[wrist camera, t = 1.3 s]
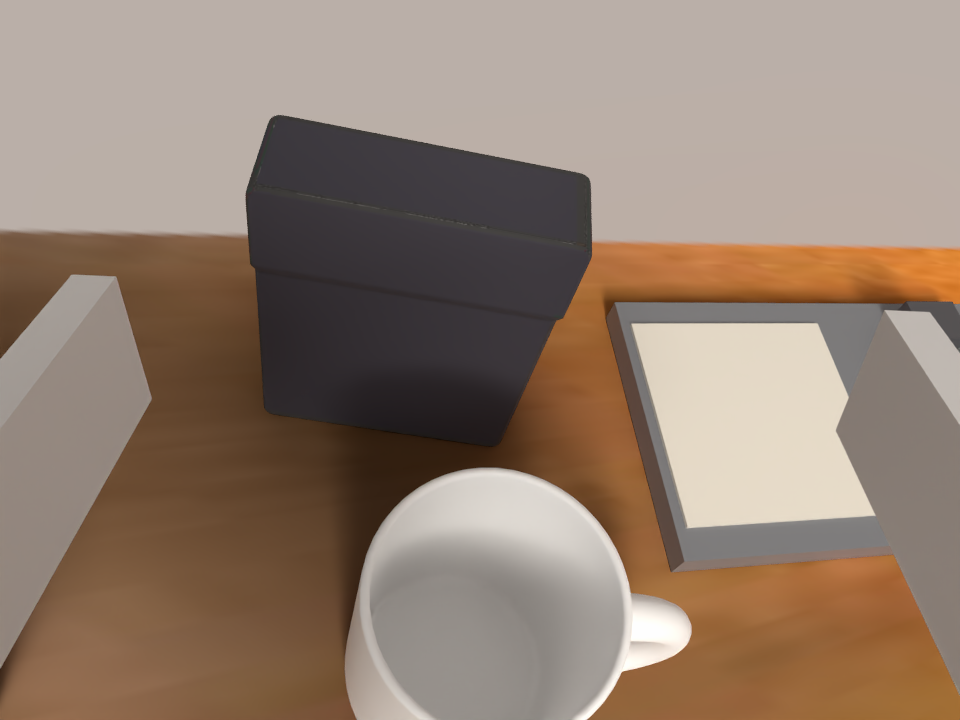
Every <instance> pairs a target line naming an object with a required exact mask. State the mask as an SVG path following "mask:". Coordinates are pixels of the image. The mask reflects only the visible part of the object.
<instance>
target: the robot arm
mask: <svg viewBox="0 0 960 720" xmlns="http://www.w3.org/2000/svg"><path fill="white" fill-rule="evenodd" d="M151 400H152V397H151V394H150V390H149V387H148V384H147V380H146V377H145V373H144V370H143V367H142V363H141V360H140V356H139V353H138V349H137V346H136V343H135V339H134V336H133V332H132V329H131V326H130V322H129V319H128V315H127V312H126V308H125V305H124V302H123V298H122V295H121V291H120V288H119V285H118V281H117V278H116V276H93V275H71V276H70V277H69V279H68V280H67V281H66V282H65V283H64V284H63V286H62V287H61V288H60V289H59V290H58V292H57V293H56V294H55V295H54V296H53V297H52V299H51V300H50V301H49V302H48V303H47V304H46V306H45V307H44V308H43V309H42V310H41V312H40V313H39V314H38V315H37V316H36V317H35V319H34V320H33V321H32V322H31V323H30V325H29V326H28V327H27V328H26V329H25V330H24V332H23V333H22V334H21V335H20V336H19V338H18V339H17V340H16V341H15V342H14V343H13V345H12V346H11V347H10V348H9V349H8V350H7V352H6V353H5V354H4V355H3V356H2V358H1V359H0V668H1V667H2V665H3V663H4V661H5V660H6V658H7V656H8V654H9V652H10V651H11V649H12V647H13V645H14V644H15V642H16V640H17V638H18V636H19V635H20V633H21V631H22V629H23V627H24V626H25V624H26V622H27V620H28V619H29V617H30V615H31V613H32V611H33V610H34V608H35V606H36V604H37V603H38V601H39V599H40V597H41V595H42V594H43V592H44V590H45V588H46V587H47V585H48V583H49V581H50V579H51V578H52V576H53V574H54V572H55V571H56V569H57V567H58V565H59V563H60V562H61V560H62V558H63V556H64V555H65V553H66V551H67V549H68V547H69V546H70V544H71V542H72V540H73V539H74V537H75V535H76V533H77V531H78V530H79V528H80V526H81V524H82V523H83V521H84V519H85V517H86V515H87V514H88V512H89V510H90V508H91V507H92V505H93V503H94V501H95V499H96V498H97V496H98V494H99V492H100V491H101V489H102V487H103V485H104V483H105V482H106V480H107V478H108V476H109V475H110V473H111V471H112V469H113V467H114V466H115V464H116V462H117V460H118V459H119V457H120V455H121V453H122V451H123V450H124V448H125V446H126V444H127V442H128V441H129V439H130V437H131V435H132V434H133V432H134V430H135V428H136V426H137V425H138V423H139V421H140V419H141V418H142V416H143V414H144V412H145V410H146V409H147V407H148V405H149V403H150V402H151ZM836 432H837V434H838V436H839V438H840V441H841V443H842V445H843V447H844V449H845V451H846V453H847V456H848V458H849V460H850V462H851V464H852V466H853V468H854V471H855V473H856V475H857V477H858V479H859V481H860V483H861V485H862V488H863V490H864V492H865V494H866V496H867V498H868V500H869V503H870V505H871V507H872V509H873V511H874V513H875V515H876V518H877V520H878V522H879V524H880V526H881V528H882V530H883V532H884V535H885V537H886V539H887V541H888V543H889V545H890V547H891V550H892V552H893V554H894V556H895V558H896V560H897V562H898V564H899V567H900V569H901V571H902V573H903V575H904V577H905V579H906V582H907V584H908V586H909V588H910V590H911V592H912V594H913V597H914V599H915V601H916V603H917V605H918V607H919V609H920V611H921V614H922V616H923V618H924V620H925V622H926V624H927V626H928V629H929V631H930V633H931V635H932V637H933V639H934V641H935V644H936V646H937V648H938V650H939V652H940V654H941V656H942V658H943V661H944V663H945V665H946V667H947V669H948V671H949V673H950V676H951V678H952V680H953V682H954V684H955V686H956V688H957V690H958V693H959V695H960V353H959V351H958V350H957V349H956V347H955V346H954V344H953V343H952V342H951V340H950V339H949V338H948V336H947V335H946V334H945V332H944V331H943V329H942V328H941V327H940V325H939V324H938V323H937V321H936V320H935V319H934V317H933V316H932V314H931V313H930V312H916V311H894V310H884V312H883V315H882V317H881V320H880V322H879V325H878V327H877V329H876V332H875V334H874V337H873V339H872V342H871V344H870V347H869V349H868V352H867V354H866V357H865V359H864V361H863V364H862V366H861V369H860V371H859V374H858V376H857V379H856V381H855V384H854V386H853V388H852V391H851V393H850V396H849V398H848V401H847V403H846V406H845V408H844V411H843V413H842V416H841V418H840V420H839V423H838V425H837V428H836Z"/></svg>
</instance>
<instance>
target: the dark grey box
mask: <svg viewBox="0 0 960 720" xmlns="http://www.w3.org/2000/svg"><path fill="white" fill-rule="evenodd" d="M246 212H247V226H248V239H249V253H250V264H251V265H252V266H253V267H254V268H255V271H256V287H257V302H258V318H259V334H260V350H261V365H262V381H263V397H264V408H265V410H266V411H267V412H269V413H271V414H276V415H282V416H288V417H295V418H302V419H309V420H315V421H322V422H329V423H335V424H342V425H349V426H355V427H362V428H369V429H376V430H382V431H389V432H396V433H402V434H409V435H416V436H422V437H429V438H436V439H443V440H449V441H456V442H463V443H469V444H476V445H483V446H496V445H498V444H499V443H500V442H501V439H502V437H503V435H504V433H505V431H506V429H507V426H508V424H509V422H510V420H511V418H512V416H513V413H514V411H515V409H516V407H517V405H518V403H519V400H520V398H521V396H522V394H523V392H524V389H525V387H526V385H527V383H528V381H529V379H530V376H531V374H532V372H533V370H534V368H535V365H536V363H537V361H538V359H539V357H540V355H541V352H542V350H543V348H544V346H545V344H546V341H547V339H548V337H549V335H550V333H551V331H552V328H553V326H554V324H555V322H556V320H559V319H562V318H563V317H564V315H565V313H566V311H567V309H568V307H569V305H570V303H571V300H572V298H573V296H574V294H575V292H576V290H577V288H578V286H579V283H580V281H581V279H582V277H583V275H584V273H585V271H586V269H587V266H588V264H589V262H590V260H591V257H592V224H591V185H590V180H589V178H588V177H586V176H585V175H583V174H580V173H576V172H571V171H566V170H561V169H556V168H551V167H546V166H540V165H536V164H530V163H525V162H520V161H515V160H510V159H505V158H499V157H495V156H489V155H484V154H479V153H473V152H469V151H464V150H459V149H453V148H448V147H443V146H437V145H432V144H428V143H423V142H417V141H412V140H407V139H402V138H397V137H392V136H386V135H381V134H377V133H371V132H366V131H361V130H356V129H351V128H346V127H341V126H335V125H330V124H325V123H320V122H315V121H309V120H304V119H300V118H294V117H289V116H282V115H277V116H274V117H273V118H271V119H270V121H269V123H268V126H267V129H266V132H265V135H264V138H263V141H262V144H261V147H260V150H259V153H258V156H257V159H256V162H255V165H254V168H253V172H252V174H251V177H250V181H249V184H248V187H247V191H246Z"/></svg>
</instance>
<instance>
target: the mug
mask: <svg viewBox="0 0 960 720" xmlns="http://www.w3.org/2000/svg"><path fill="white" fill-rule="evenodd" d="M690 636H691V623H690V621H689V619H688V616H687V614H686V613H685V612H684V611H683V610H682V609H681V608H680V607H679V606H677V605H676V604H673V603H671V602H669V601H667V600H664V599H661V598H657V597H654V596H648V595H642V594H634V593H630V588H629V582H628V579H627V576H626V572H625V569H624V566H623V563H622V561H621V559H620V556H619V554H618V552H617V550H616V548H615V546H614V544H613V543H612V541H611V539H610V537H609V536H608V534H607V533H606V531H605V530H604V529H603V527H602V526H601V525H600V523H599V522H598V521H597V519H596V518H595V517H594V516H593V515H592V514H591V513H590V512H589V511H588V510H587V509H586V508H585V507H584V506H583V505H582V504H581V503H579V502H578V501H577V500H576V499H575V498H574V497H572V496H571V495H569V494H568V493H566V492H565V491H563V490H562V489H561V488H559V487H557V486H555V485H553V484H551V483H549V482H548V481H546V480H544V479H541V478H538V477H536V476H533V475H530V474H527V473H524V472H520V471H516V470H511V469H503V468H473V469H465V470H460V471H456V472H452V473H448V474H446V475H443V476H440V477H438V478H435V479H433V480H431V481H429V482H427V483H426V484H424V485H422V486H420V487H418V488H417V489H416V490H414V491H413V492H412V493H410V494H409V495H408V496H406V497H405V498H404V499H403V500H402V501H401V502H400V503H399V504H398V505H397V506H396V507H395V508H393V510H392V511H391V512H390V513H389V515H388V516H387V517H386V518H385V520H384V521H383V522H382V524H381V526H380V527H379V529H378V531H377V532H376V534H375V536H374V537H373V540H372V542H371V545H370V547H369V549H368V552H367V554H366V558H365V562H364V565H363V569H362V573H361V578H360V582H359V587H358V592H357V597H356V601H355V606H354V611H353V615H352V620H351V625H350V629H349V634H348V639H347V646H346V653H345V678H346V687H347V692H348V696H349V700H350V704H351V707H352V709H353V712H354V714H355V717H356V719H357V720H587V719H588V718H589V717H590V716H591V715H592V714H593V713H594V712H595V711H596V710H597V709H598V708H599V707H600V706H601V705H602V704H603V702H604V701H605V700H606V698H607V697H608V695H609V694H610V692H611V691H612V690H613V688H614V686H615V684H616V682H617V680H618V678H619V676H620V675H621V673H622V671H626V670H631V669H636V668H640V667H644V666H647V665H651V664H654V663H657V662H660V661H663V660H665V659H667V658H670V657H672V656H674V655H675V654H677V653H678V652H680V651H681V650H682V649H683V648H684V647H685V646H686V645H687V644H688V641H689V639H690Z"/></svg>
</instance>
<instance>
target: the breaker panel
mask: <svg viewBox="0 0 960 720" xmlns="http://www.w3.org/2000/svg"><path fill="white" fill-rule="evenodd" d="M884 310H894V311H916V312H930V313H931V314H932V316H933V317H934V319H935V320H936V321H937V323H938V324H939V325H940V327H941V328H942V329H943V331H944V332H945V334H946V335H947V336H948V338H949V339H950V340H951V342H952V343H953V344H954V346H955V347H956V349H957V350H958V351H959V353H960V304H953V302H911V301H906V302H905V303H904V304H846V303H663V302H615V303H614V305H613V306H612V308H611V310H610V312H609V314H608V315H607V317H606V321H607V325H608V329H609V333H610V337H611V341H612V344H613V348H614V352H615V356H616V360H617V364H618V368H619V372H620V375H621V379H622V383H623V387H624V391H625V395H626V399H627V403H628V406H629V410H630V414H631V418H632V422H633V426H634V430H635V434H636V437H637V441H638V445H639V449H640V453H641V457H642V461H643V465H644V468H645V472H646V476H647V480H648V484H649V488H650V492H651V496H652V499H653V503H654V507H655V511H656V515H657V519H658V523H659V527H660V530H661V534H662V538H663V542H664V546H665V550H666V554H667V557H668V561H669V565H670V569H671V572H680V571H693V570H706V569H718V568H731V567H743V566H756V565H769V564H781V563H794V562H806V561H819V560H832V559H844V558H857V557H869V556H882V555H894V554H893V552H892V550H891V547H890V545H889V543H888V541H887V539H886V537H885V535H884V532H883V530H882V528H881V526H880V524H879V522H878V520H877V518H876V515H875V513H874V511H873V509H872V507H871V505H870V503H869V500H868V498H867V496H866V494H865V492H864V490H863V488H862V485H861V483H860V481H859V479H858V477H857V475H856V473H855V471H854V468H853V466H852V464H851V462H850V460H849V458H848V456H847V453H846V451H845V449H844V447H843V445H842V443H841V441H840V438H839V436H838V434H837V432H836V428H837V425H838V423H839V420H840V418H841V416H842V413H843V411H844V408H845V406H846V403H847V401H848V398H849V396H850V393H851V391H852V388H853V386H854V384H855V381H856V379H857V376H858V374H859V371H860V369H861V366H862V364H863V361H864V359H865V357H866V354H867V352H868V349H869V347H870V344H871V342H872V339H873V337H874V334H875V332H876V329H877V327H878V325H879V322H880V320H881V317H882V315H883V312H884Z"/></svg>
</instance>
